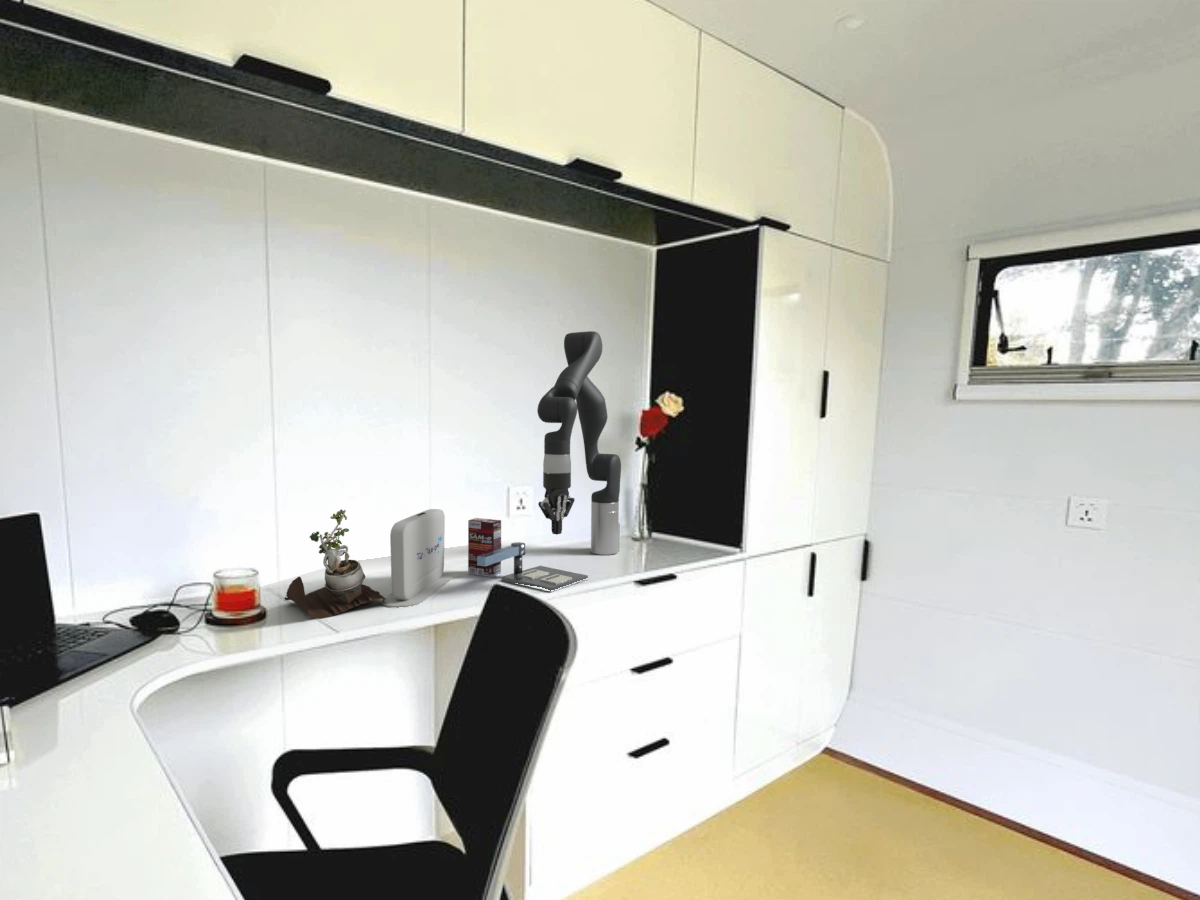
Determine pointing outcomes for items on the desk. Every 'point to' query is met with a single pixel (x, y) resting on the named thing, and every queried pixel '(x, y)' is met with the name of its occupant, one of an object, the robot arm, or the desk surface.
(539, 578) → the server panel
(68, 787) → the desk surface
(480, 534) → the supplement box
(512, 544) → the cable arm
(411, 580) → the wireless router
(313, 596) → the potted plant
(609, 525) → the robot arm
